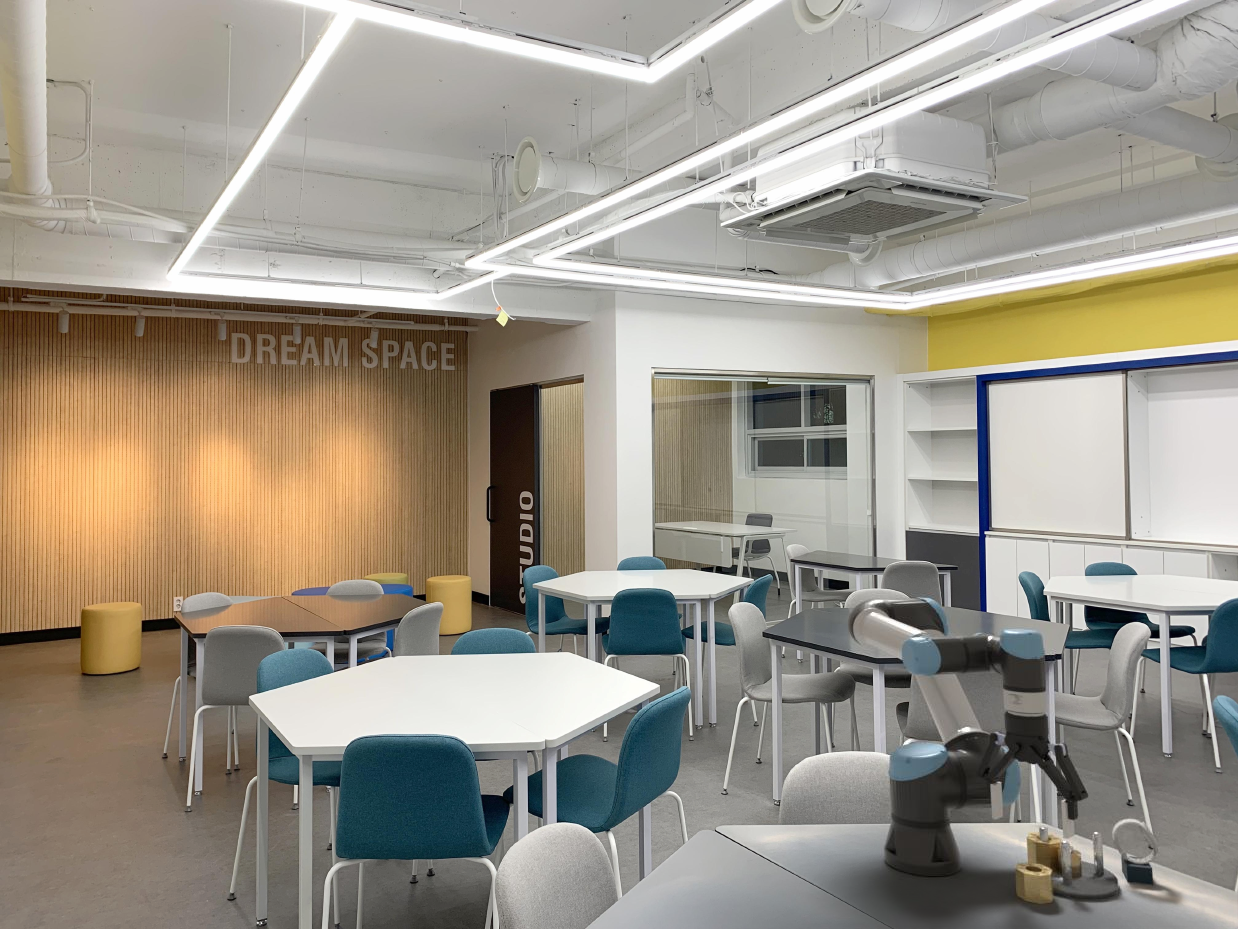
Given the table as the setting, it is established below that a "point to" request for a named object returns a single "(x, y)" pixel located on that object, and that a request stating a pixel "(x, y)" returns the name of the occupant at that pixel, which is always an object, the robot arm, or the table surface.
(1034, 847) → the planet gear
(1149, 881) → the watch
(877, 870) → the table surface
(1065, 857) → the carrier
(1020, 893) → the planet gear
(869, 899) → the table surface
